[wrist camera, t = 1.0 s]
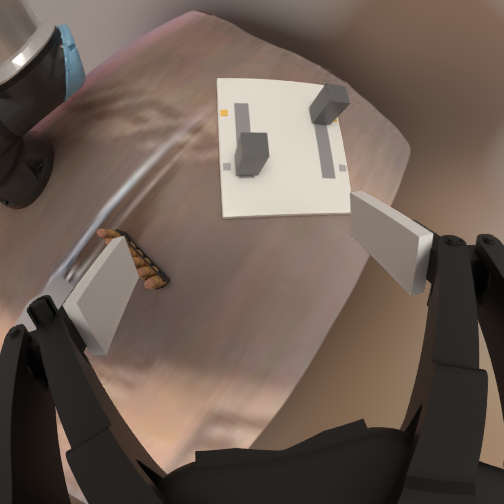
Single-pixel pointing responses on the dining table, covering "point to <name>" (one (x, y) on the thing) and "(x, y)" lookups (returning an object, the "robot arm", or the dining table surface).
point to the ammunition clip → (138, 260)
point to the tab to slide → (251, 153)
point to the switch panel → (280, 152)
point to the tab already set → (329, 104)
